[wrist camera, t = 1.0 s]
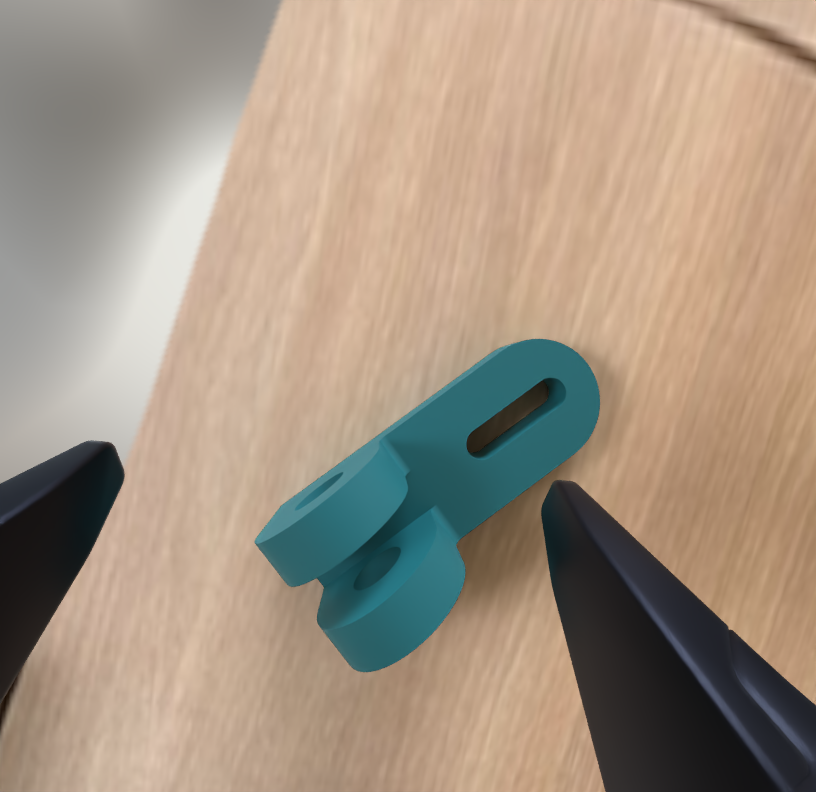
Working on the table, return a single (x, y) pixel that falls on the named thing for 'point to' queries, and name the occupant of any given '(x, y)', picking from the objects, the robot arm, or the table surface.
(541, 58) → the table surface
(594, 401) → the bracket
